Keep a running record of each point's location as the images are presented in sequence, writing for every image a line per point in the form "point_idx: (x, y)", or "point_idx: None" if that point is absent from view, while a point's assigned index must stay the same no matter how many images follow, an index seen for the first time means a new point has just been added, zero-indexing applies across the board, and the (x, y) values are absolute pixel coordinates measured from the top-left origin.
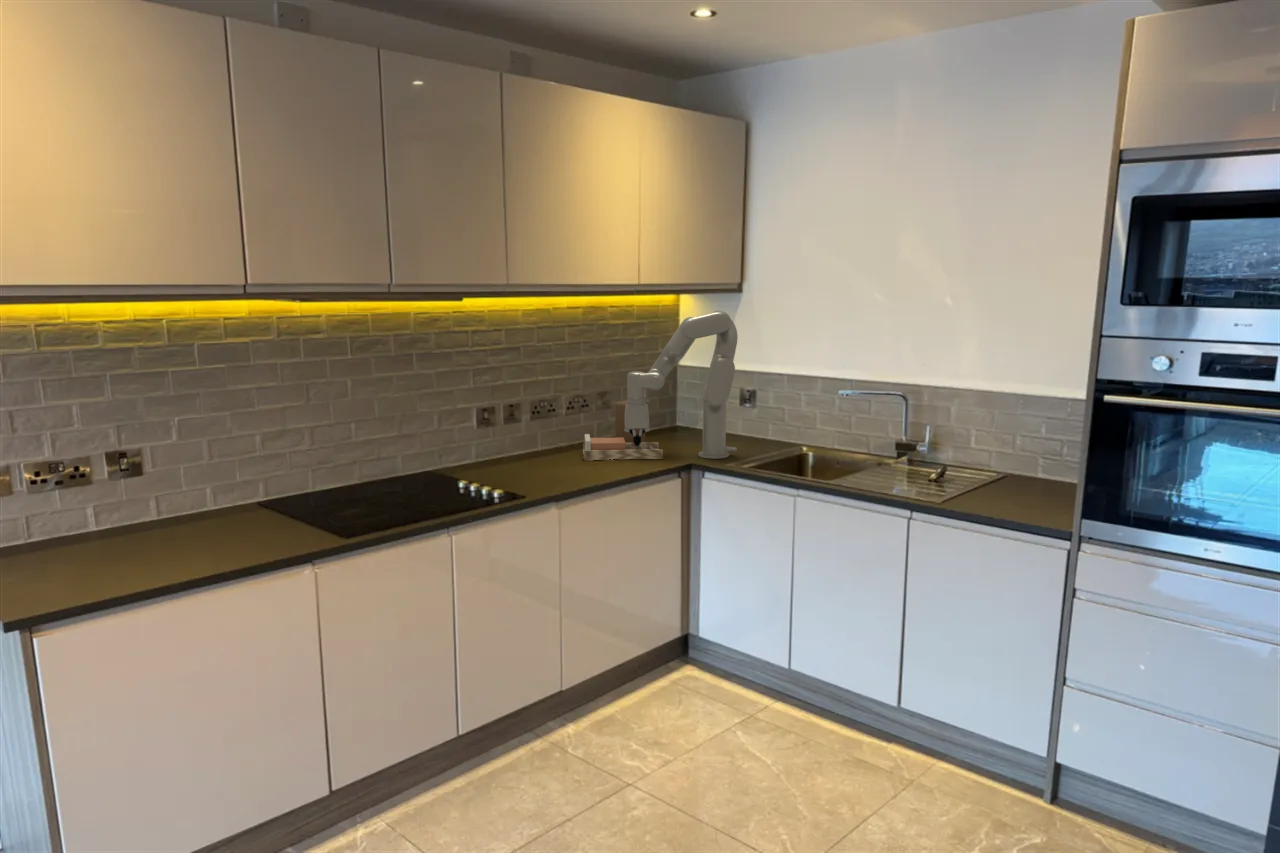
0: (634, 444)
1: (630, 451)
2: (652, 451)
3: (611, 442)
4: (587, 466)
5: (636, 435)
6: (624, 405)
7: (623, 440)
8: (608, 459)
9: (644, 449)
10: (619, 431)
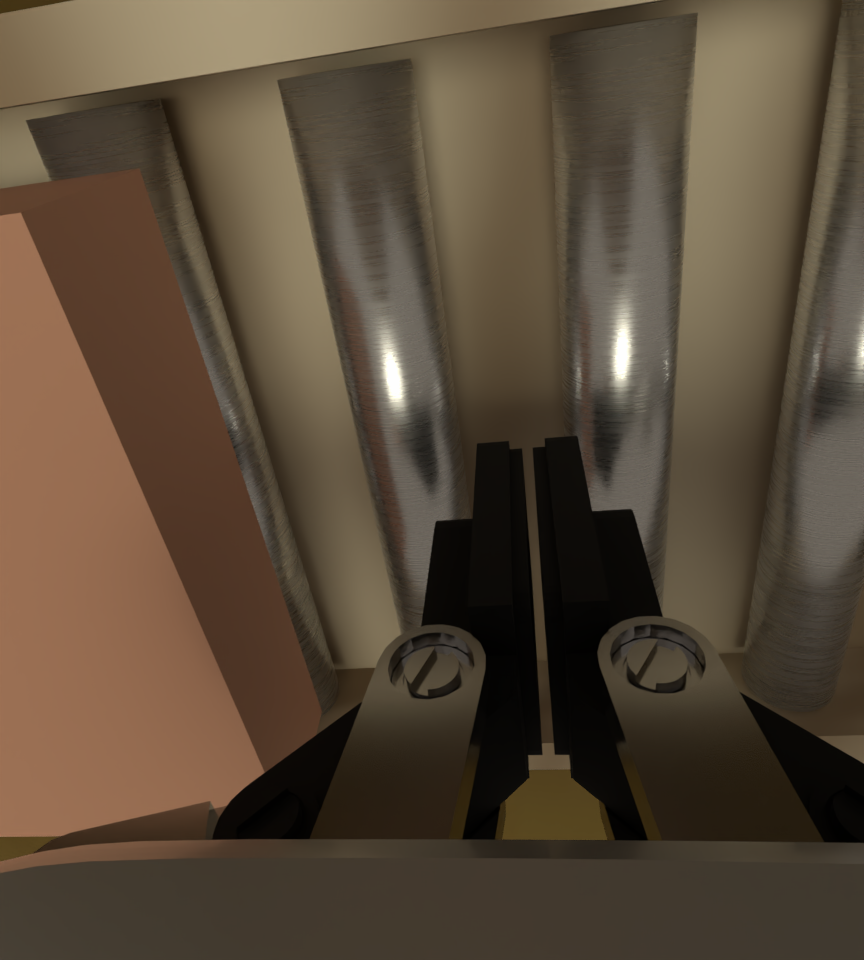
0: (457, 29)
1: None
2: None
3: (2, 796)
4: (32, 846)
5: (523, 760)
6: None
7: (179, 643)
8: None
9: (732, 95)
10: None
